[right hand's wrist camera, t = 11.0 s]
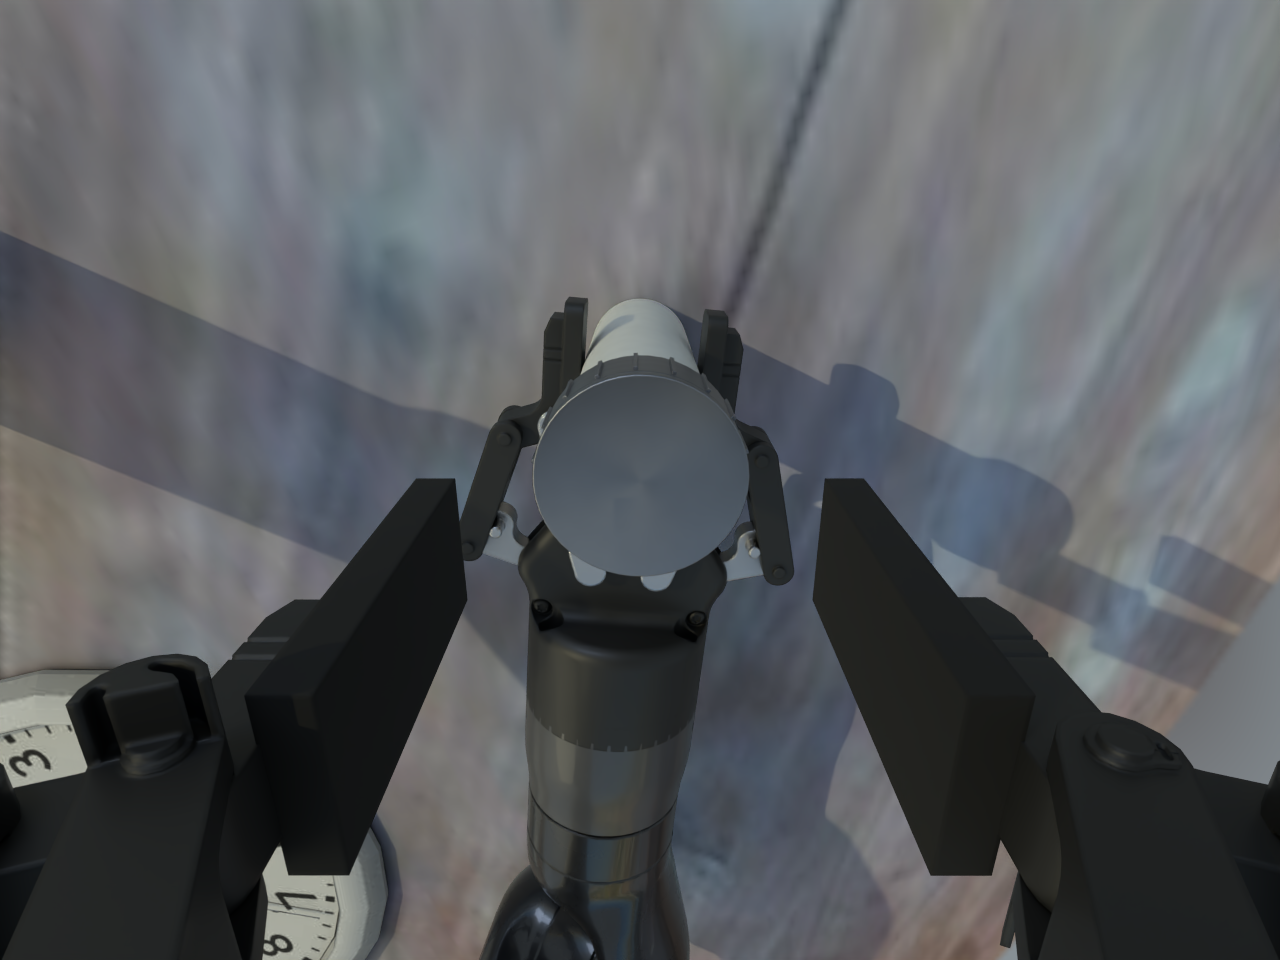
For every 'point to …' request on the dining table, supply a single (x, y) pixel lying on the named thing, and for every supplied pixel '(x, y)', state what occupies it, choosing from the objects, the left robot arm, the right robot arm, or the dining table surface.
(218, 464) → the dining table surface
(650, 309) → the off-white long cylinder
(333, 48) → the dining table surface
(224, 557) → the dining table surface
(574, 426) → the lid
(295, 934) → the wall clock
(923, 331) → the dining table surface
